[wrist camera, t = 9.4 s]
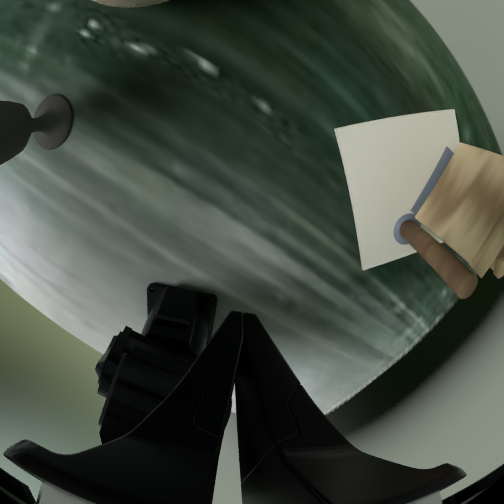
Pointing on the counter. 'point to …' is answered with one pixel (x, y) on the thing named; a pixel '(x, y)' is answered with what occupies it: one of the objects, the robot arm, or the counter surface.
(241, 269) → the counter surface
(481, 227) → the fence panel
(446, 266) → the wooden plank
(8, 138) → the sundae
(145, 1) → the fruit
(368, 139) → the card
